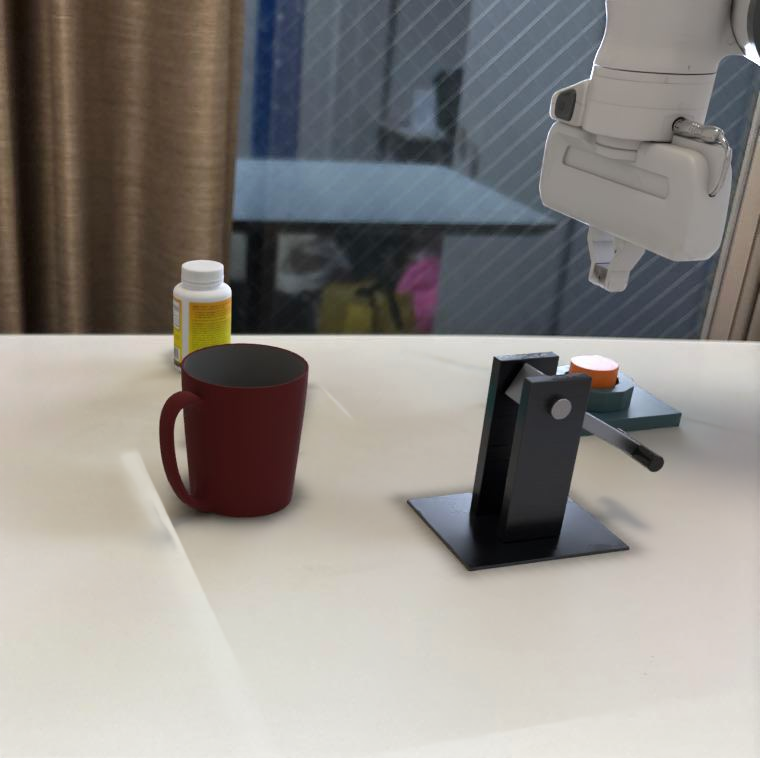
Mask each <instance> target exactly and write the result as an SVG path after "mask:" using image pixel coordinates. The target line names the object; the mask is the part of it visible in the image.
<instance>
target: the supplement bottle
mask: <svg viewBox="0 0 760 758" xmlns="http://www.w3.org/2000/svg"><path fill="white" fill-rule="evenodd" d="M224 269H225V268H224V264H223V263H221V262H218V261H215V260H210V259H209V260H208V259H196V260H188V261H186V262H184V263H182V264H181V275H180V278H181V280H180V281H181V282H179V283H177V284H176V285H175V286H174V288H173V290H172V291H173V292H172V315H173V316H172V317H173V318H172V319H173V321H172V325H173V366H174V367H175V369H176V370H177V371H178V372H180V373H181V362H182V360H183V358H184V357H186V356H187V355H188V354H189V353H191V352H193V351H196V350H198V349H201V348H205V347H209V346H214V345H221V344H232V295H233V294H232V289H231V287H230V286H229V285H228V284H227V283H225V282H224V281H225V279H224V278H225V275H224Z"/></svg>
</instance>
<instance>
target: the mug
mask: <svg viewBox="0 0 760 758" xmlns="http://www.w3.org/2000/svg"><path fill="white" fill-rule="evenodd" d="M309 369H310V366H309V363H308V361H307V360H306V359H305V358H304V357H303V356H301V355H300V354H298V353H296V352H294V351H292V350H289V349H286V348H283V347H278V346H274V345H268V344H262V343H261V344H260V343H246V342H245V343H244V342H238V343H237V342H236V343H232V342H231V344H221V345H214V346H209V347H205V348H201V349H198V350H196V351H193V352H191V353H189V354H188V355H187V356H186V357H184V358H183V360H182V362H181V372H180V375H181V376H180V383H181V385H180V386H181V390H180V391H176V392H174V393H172V394H171V395H170V396H169V397H168V398H167V399H166V400H165V402H164V403H163V406H162V408H161V411H160V417H159V421H158V422H159V423H158V440H159V441H158V442H159V449H160V457H161V462H162V466H163V470H164V474H165V476H166V479H167V482H168V484H169V486H170V488H171V489H172V491H173V492H174V494H175V495H176V497H177V498H178V499H179V500H180V501H181V503H183V504H184V505H186V506H187V507H189V508H191V509H193V510H195V511H198V512H203V513H206V514H214V515H217V516H222V517H228V518H239V519H245V518H246V519H248V518H250V519H251V518H259V517H265V516H269V515H272V514H275V513H277V512H280V511H282V510H283V509H285V508H286V507H288V506H289V504H290V503H291V502H292V498H293V493H294V487H295V481H296V474H297V473H296V472H297V467H298V461H299V454H300V447H301V446H300V445H301V439H302V433H303V426H304V417H305V410H306V402H307V393H308V386H309V385H308V383H309ZM181 411H182V412H183V413H182V415H183V428H184V440H185V449H186V460H187V461H186V462H187V473H188V482H189V483H188V484H189V490H187V488H186V486H185V485H184V481H183V480H182V476H181V474H180V470H179V467H178V461H177V454H176V446H175V427H176V420H177V418H178V416H179V414H180V413H181Z"/></svg>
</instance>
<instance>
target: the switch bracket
mask: <svg viewBox="0 0 760 758" xmlns="http://www.w3.org/2000/svg"><path fill="white" fill-rule="evenodd" d="M559 361H560V355H558V354H557V353H555V352H554V351H542V352H541V351H540V352H530V353H519V354H517V353H516V354H505V355H495V356H492V364H491V371H490V377H489V383H488V389H487V397H486V401H485V402H486V403H485V409H484V415H483V422H482V427H481V428H482V429H481V430H482V431H481V436H480V441H479V448H478V455H477V460H476V461H477V462H476V468H475V475H474V482H473V487H472V488H473V489H472V491H471V492H464V493H455V494H454V493H453V494H446V495H445V494H444V495H438V496H437V495H436V496H428V497H420V498H419V497H418V498H411V499H410V498H409V499H407V500H406V504H407V505H409V507H410V508H411V509H412V510H413V512H415V514H417V515H418V517H419V518H420V519H421V520H422V521H423V522H424V524H425V525H426V526H428V528H429V529H430V530H431V531H432V532H433V533H434V535H436V537H437V538H438V539H439V540H440V541H441V542H442V543H443V544H444V546H445V547H446V548H447V549H448V550H449V551H450V552H451V553H452V555H454V557H456V559H457V560H458V561H459V562H460V563H461V565H462V566H463V567H465V569H466V570H467V571H468V572H474V571H475V572H476V571H482V570H490V569H497V568H498V569H499V568H507V567H511V566H512V567H514V566H519V565H520V566H521V565H529V564H534V563H543V562H549V561H556V560H557V561H558V560H564V559H571V558H579V557H586V556H595V555H601V554H609V553H615V552H616V553H617V552H625V551H630V546H629V545H628V544H626V543H625V542H624V541H623V540H622V539H620V538H619V537H618V536H617V535H616V534H615V533H613V531H611V530H610V529H609V528H607V527H606V526H605V525H604V524H602V523H601V522H600V520H598V519H597V518H595V517H594V516H593V515H592V514H590V512H588V511H587V510H586V509H585V508H583V507H582V506H581V505H580V504H578V503H577V502H576V501H575V500H573V498H571V497H570V496H569V495H570V490H571V484H572V480H573V475H574V470H575V465H576V461H577V456H578V451H579V447H580V446H579V445H580V442H581V437H582V436H581V432H582V427H583V422H584V417H585V412H586V408H587V403H588V398H589V393H590V388H591V383H592V377H591V376H589V375H588V374H586V373H572V374H561V375H556V372H557V367H559ZM525 363H527V364H529V365H531V366H532V367H534V368H536V369H537V370H539V371H541V372H542V373H544V374H546V375H547V376H538V377H527V378H524V380H523V386H522V392H521V398H520V404H518V403H516V402H515V401H514V400H512V399H511V398H510V397H508V396H507V395H506V394H505V392H506V390H507V389H508V387H509V386H510V385H511V383H512V382H513V380H514V379H515V377H516V376H517V374H518V373H519V371H520V370H521V369H522V367H523V366H524V364H525Z"/></svg>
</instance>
